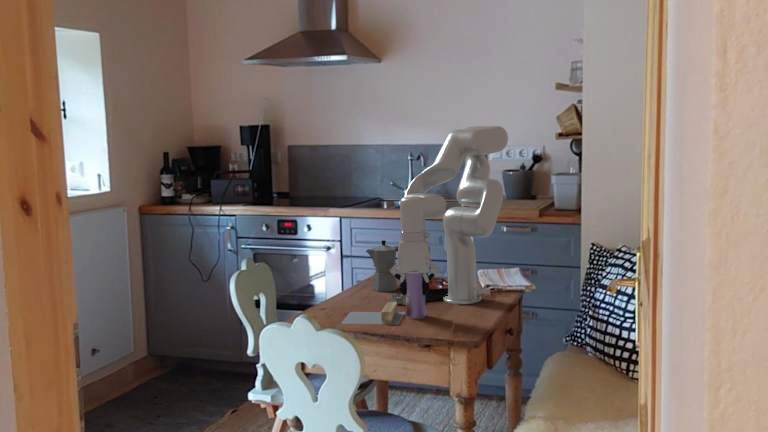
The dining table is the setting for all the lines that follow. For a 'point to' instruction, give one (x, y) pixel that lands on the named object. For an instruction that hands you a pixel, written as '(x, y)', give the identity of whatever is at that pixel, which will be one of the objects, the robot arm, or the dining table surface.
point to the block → (389, 312)
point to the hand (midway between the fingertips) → (415, 293)
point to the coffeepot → (384, 267)
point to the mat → (370, 318)
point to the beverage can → (415, 295)
